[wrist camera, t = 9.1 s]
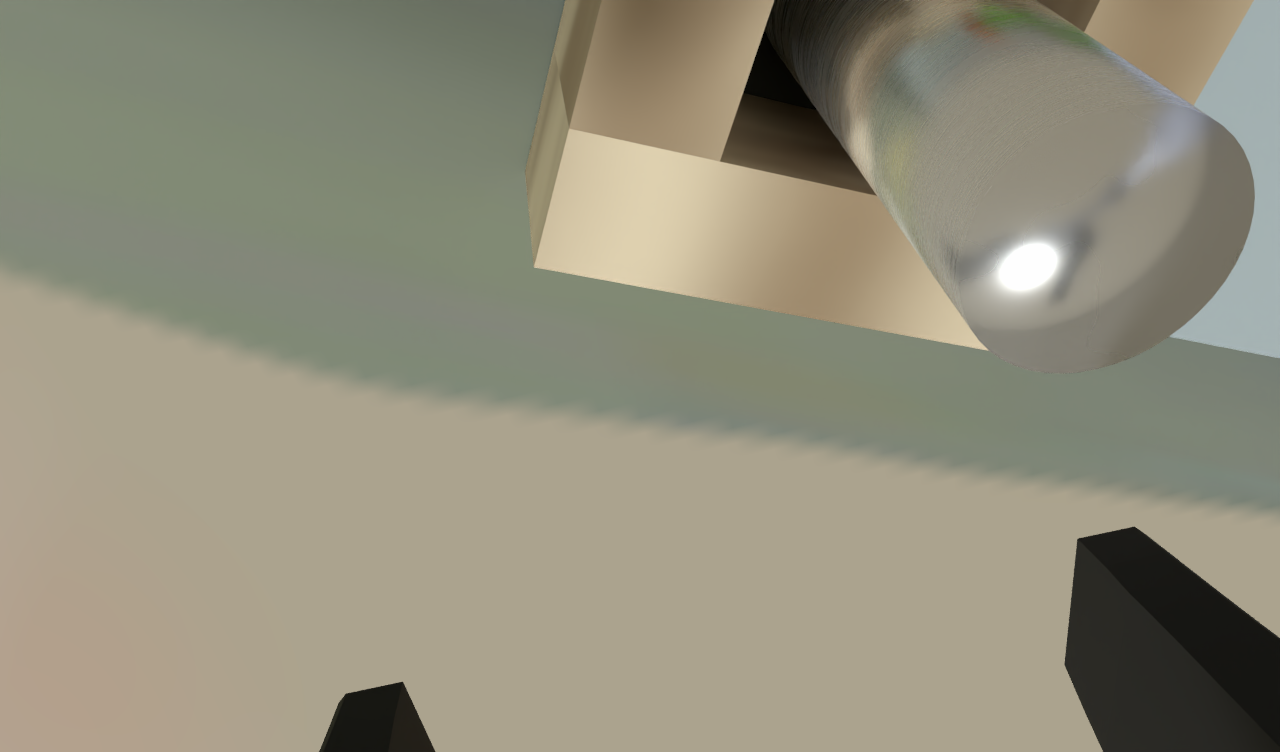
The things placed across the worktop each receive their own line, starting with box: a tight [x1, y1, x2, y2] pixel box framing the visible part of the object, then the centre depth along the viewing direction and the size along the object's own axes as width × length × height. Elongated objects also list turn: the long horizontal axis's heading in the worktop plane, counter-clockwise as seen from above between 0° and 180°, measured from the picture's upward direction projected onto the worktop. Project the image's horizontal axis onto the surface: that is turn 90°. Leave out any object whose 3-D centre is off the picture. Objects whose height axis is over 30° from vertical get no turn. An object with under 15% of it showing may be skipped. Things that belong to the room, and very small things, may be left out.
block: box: [525, 0, 1254, 351], centre depth 16 cm, size 9×9×4 cm
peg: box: [765, 0, 1255, 373], centre depth 14 cm, size 3×3×9 cm
